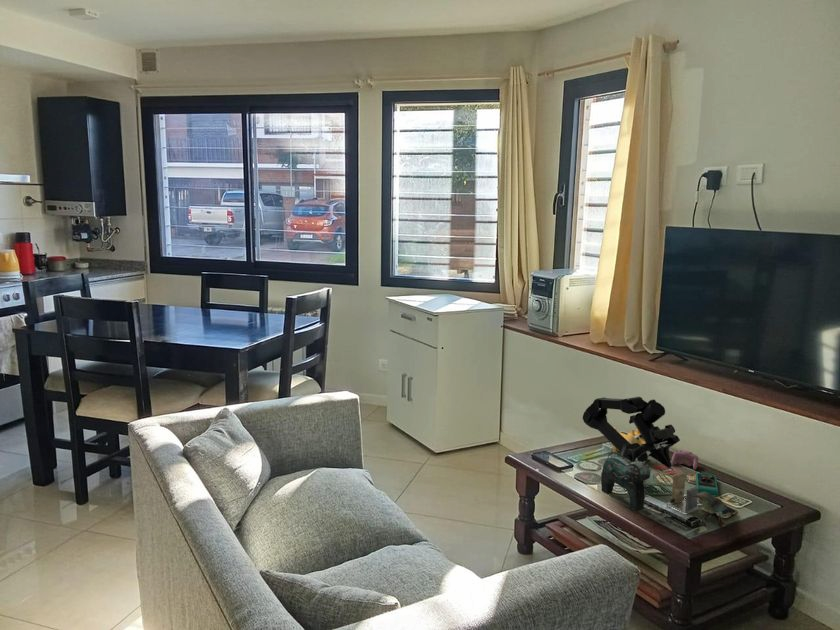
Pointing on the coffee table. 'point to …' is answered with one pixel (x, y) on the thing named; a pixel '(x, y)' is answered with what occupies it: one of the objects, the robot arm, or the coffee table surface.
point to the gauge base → (687, 502)
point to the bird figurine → (713, 507)
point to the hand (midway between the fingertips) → (670, 467)
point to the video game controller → (688, 455)
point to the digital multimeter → (707, 483)
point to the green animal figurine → (626, 478)
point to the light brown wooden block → (678, 487)
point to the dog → (631, 438)
